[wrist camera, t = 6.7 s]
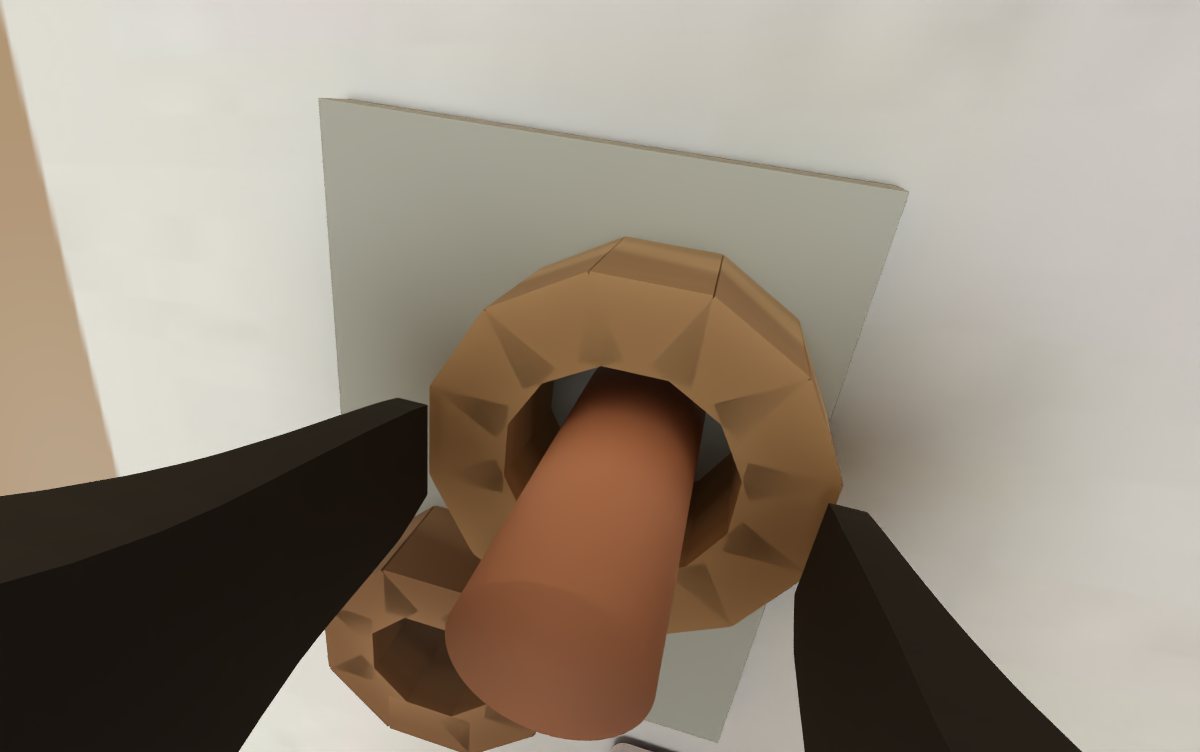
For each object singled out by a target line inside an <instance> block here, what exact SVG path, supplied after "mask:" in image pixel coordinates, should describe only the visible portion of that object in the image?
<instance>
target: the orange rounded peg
mask: <svg viewBox="0 0 1200 752" xmlns="http://www.w3.org/2000/svg"><path fill="white" fill-rule="evenodd" d="M705 415H706V412H705V411H704V410H703V409H702V408H701V407H699V406H698V405H697V404H696V403H695V402H693V401H692V400H691V399H690V398H689V397H687V396H686V395H685V394H684V393H683V392H681V391H680V390H679V389H678V388H677V387H675V386H674V385H673V384H672V383H671V382H669V381H667V380H662V379H657V378H653V377H648V376H644V375H639V374H635V373H630V372H626V371H621V370H617V369H612V368H608V367H603V366H600V367H598V368H597V369H596V371H595V372H594V374H593V375H592V377H591V378H590V380H589V382H588V383H587V385H586V387H585V388H584V390H583V392H582V393H581V395H580V397H579V398H578V400H577V402H576V403H575V405H574V407H573V408H572V410H571V412H570V413H569V415H568V417H567V418H566V420H565V422H564V423H563V425H562V427H561V428H560V430H559V432H558V433H557V435H556V437H555V438H554V440H553V442H552V443H551V445H550V447H549V448H548V450H547V452H546V453H545V455H544V456H543V458H542V460H541V461H540V463H539V465H538V466H537V468H536V470H535V471H534V473H533V475H532V476H531V478H530V480H529V481H528V483H527V485H526V486H525V488H524V490H523V491H522V493H521V495H520V496H519V498H518V500H517V501H516V503H515V505H514V506H513V508H512V510H511V511H510V513H509V515H508V516H507V518H506V520H505V521H504V523H503V525H502V526H501V528H500V530H499V531H498V533H497V535H496V536H495V538H494V540H493V541H492V543H491V545H490V546H489V548H488V550H487V551H486V553H485V555H484V556H483V558H482V560H481V561H480V563H479V565H478V566H477V568H476V570H475V571H474V573H473V575H472V576H471V578H470V580H469V581H468V583H467V585H466V586H465V588H464V590H463V591H462V593H461V595H460V596H459V598H458V600H457V601H456V603H455V604H454V606H453V608H452V610H451V612H450V614H449V616H448V618H447V622H446V626H445V641H446V647H447V651H448V655H449V657H450V659H451V662H452V664H453V666H454V668H455V669H456V671H457V673H458V674H459V676H460V677H461V679H462V680H463V681H464V683H465V684H466V685H467V686H468V687H469V688H470V689H471V691H472V692H473V693H474V694H475V695H476V696H478V697H479V698H480V699H481V700H482V701H483V702H484V703H486V704H487V705H488V706H489V707H491V708H492V709H493V710H495V711H496V712H498V713H499V714H501V715H502V716H504V717H506V718H508V719H509V720H511V721H513V722H515V723H517V724H519V725H521V726H524V727H526V728H528V729H531V730H533V731H536V732H539V733H542V734H546V735H549V736H553V737H558V738H563V739H570V740H590V741H591V740H602V739H607V738H612V737H615V736H618V735H621V734H624V733H626V732H628V731H630V730H632V729H633V728H635V727H636V726H637V725H639V724H640V723H641V722H642V721H643V720H644V719H645V718H646V717H647V715H648V714H649V712H650V710H651V709H652V707H653V704H654V701H655V697H656V691H657V686H658V680H659V675H660V669H661V663H662V658H663V652H664V646H665V641H666V635H667V630H668V624H669V618H670V613H671V607H672V601H673V596H674V590H675V585H676V579H677V573H678V568H679V562H680V556H681V551H682V545H683V540H684V534H685V528H686V523H687V517H688V511H689V506H690V500H691V495H692V489H693V483H694V478H695V472H696V466H697V461H698V455H699V450H700V444H701V438H702V433H703V427H704V421H705Z"/></svg>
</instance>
